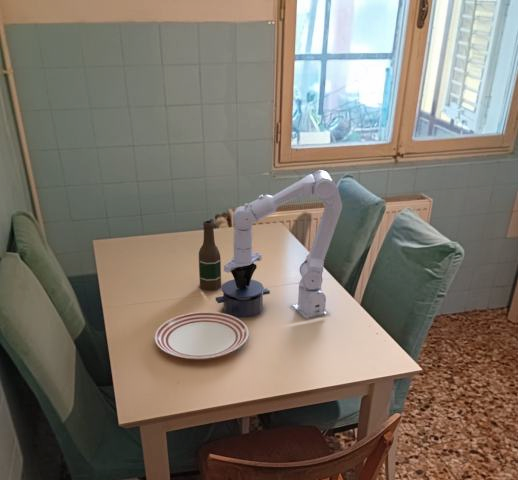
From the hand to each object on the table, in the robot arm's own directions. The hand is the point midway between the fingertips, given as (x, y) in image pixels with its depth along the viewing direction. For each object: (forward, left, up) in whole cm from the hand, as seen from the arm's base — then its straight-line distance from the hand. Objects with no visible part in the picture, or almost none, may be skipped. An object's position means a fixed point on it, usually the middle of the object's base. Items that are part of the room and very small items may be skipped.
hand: (243, 286), depth 181 cm
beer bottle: (+20, +4, -9) cm, 22 cm away
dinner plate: (-14, +19, -9) cm, 25 cm away
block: (0, 0, -8) cm, 8 cm away
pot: (0, 0, -8) cm, 8 cm away
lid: (0, 0, -1) cm, 1 cm away
